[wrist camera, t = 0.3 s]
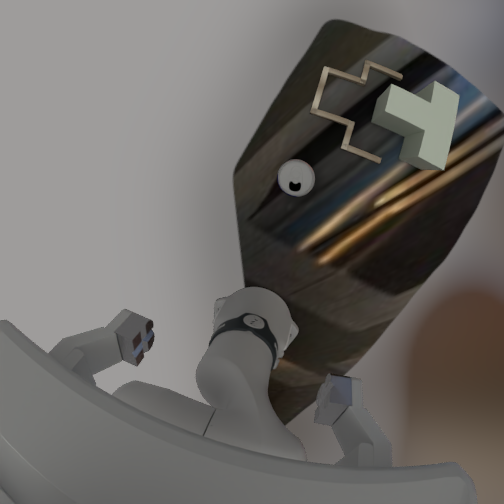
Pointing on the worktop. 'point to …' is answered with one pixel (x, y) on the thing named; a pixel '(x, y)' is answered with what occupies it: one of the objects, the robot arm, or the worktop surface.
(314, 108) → the T guide
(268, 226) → the worktop surface
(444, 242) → the worktop surface
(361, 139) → the worktop surface
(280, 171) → the energy drink
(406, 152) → the T block
